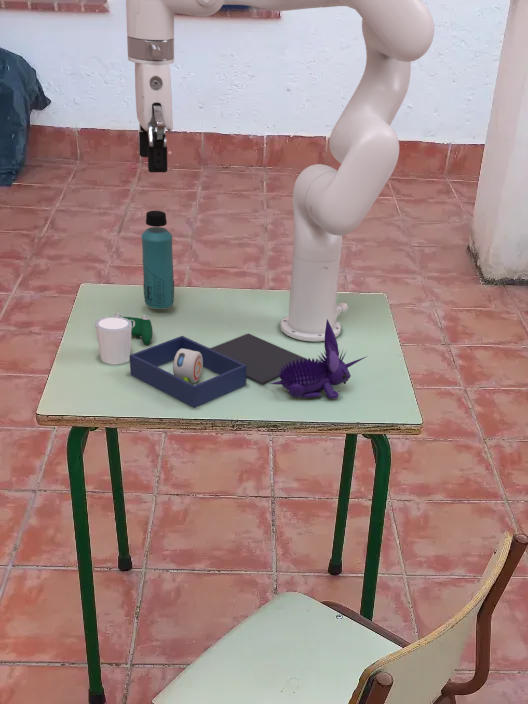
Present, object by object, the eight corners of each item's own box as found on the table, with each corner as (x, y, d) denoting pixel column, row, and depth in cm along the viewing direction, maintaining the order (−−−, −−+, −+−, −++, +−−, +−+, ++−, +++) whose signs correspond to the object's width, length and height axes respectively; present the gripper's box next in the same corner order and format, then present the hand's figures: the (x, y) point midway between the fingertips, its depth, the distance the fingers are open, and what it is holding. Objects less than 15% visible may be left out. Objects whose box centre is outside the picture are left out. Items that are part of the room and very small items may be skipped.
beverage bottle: (180, 309, 191) (179, 211, 179) (162, 318, 187) (159, 219, 174) (156, 301, 194) (153, 205, 181) (137, 311, 190) (132, 212, 177)
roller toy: (169, 384, 164) (168, 355, 161) (182, 370, 169) (182, 341, 165) (191, 389, 163) (191, 359, 160) (204, 375, 168) (204, 346, 164)
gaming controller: (152, 350, 179) (156, 321, 180) (149, 342, 175) (153, 313, 176) (107, 346, 180) (111, 317, 180) (103, 338, 176) (107, 309, 176)
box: (182, 355, 174) (182, 335, 172) (246, 385, 166) (246, 365, 163) (130, 375, 166) (129, 355, 164) (194, 408, 158) (194, 387, 155)
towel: (248, 335, 183) (248, 333, 182) (311, 363, 174) (311, 360, 174) (198, 355, 175) (198, 352, 174) (262, 385, 166) (262, 382, 166)
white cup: (94, 352, 173) (91, 317, 169) (128, 348, 175) (126, 314, 171) (101, 367, 168) (99, 332, 164) (137, 363, 170) (135, 328, 166)
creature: (368, 402, 163) (377, 338, 155) (270, 403, 161) (274, 338, 153) (359, 380, 170) (367, 318, 162) (265, 381, 168) (268, 318, 160)
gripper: (183, 60, 139) (183, 178, 150) (164, 41, 152) (166, 151, 163) (135, 59, 138) (139, 178, 148) (120, 40, 150) (124, 151, 161)
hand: (153, 164), depth 156 cm, fingers open, 9 cm apart
